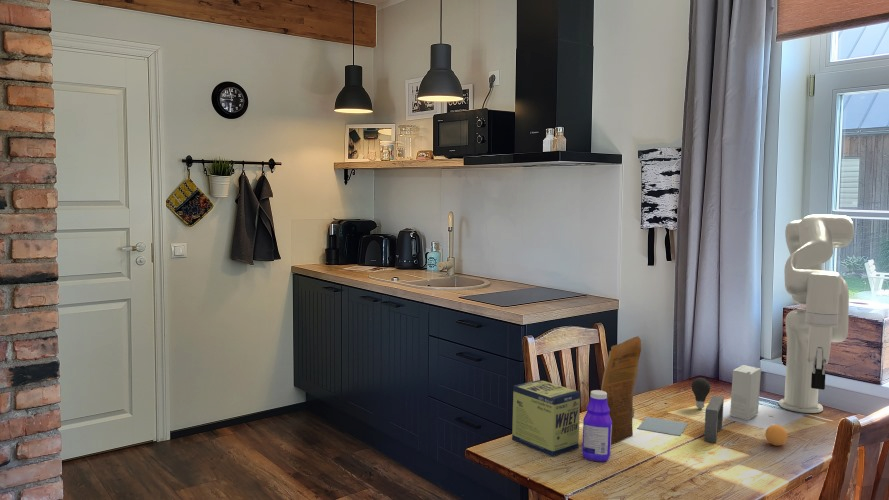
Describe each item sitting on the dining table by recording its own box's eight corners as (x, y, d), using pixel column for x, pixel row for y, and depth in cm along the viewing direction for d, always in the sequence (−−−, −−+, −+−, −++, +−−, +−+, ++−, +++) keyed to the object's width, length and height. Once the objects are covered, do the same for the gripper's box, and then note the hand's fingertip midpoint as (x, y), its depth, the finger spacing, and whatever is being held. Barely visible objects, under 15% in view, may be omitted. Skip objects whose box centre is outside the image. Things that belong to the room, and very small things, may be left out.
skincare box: (739, 410, 221) (741, 364, 220) (759, 414, 217) (761, 367, 216) (729, 416, 215) (731, 369, 214) (749, 421, 211) (751, 372, 210)
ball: (765, 440, 195) (766, 420, 195) (787, 443, 192) (788, 424, 192) (763, 446, 190) (764, 426, 190) (786, 450, 188) (787, 429, 187)
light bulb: (710, 412, 219) (712, 380, 218) (691, 411, 220) (693, 379, 219) (707, 406, 225) (709, 376, 224) (689, 405, 226) (690, 375, 225)
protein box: (553, 457, 181) (554, 398, 179) (511, 440, 193) (512, 384, 191) (580, 448, 187) (581, 391, 186) (537, 432, 199) (538, 378, 198)
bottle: (611, 456, 182) (614, 390, 180) (609, 464, 176) (611, 396, 175) (583, 452, 184) (585, 387, 183) (580, 460, 179) (582, 393, 177)
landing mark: (646, 417, 214) (646, 416, 214) (687, 423, 208) (687, 423, 208) (637, 428, 203) (637, 428, 203) (680, 436, 197) (680, 435, 197)
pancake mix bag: (646, 434, 199) (650, 336, 196) (607, 450, 186) (611, 346, 183) (625, 428, 204) (629, 332, 201) (586, 443, 191) (589, 342, 188)
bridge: (704, 441, 193) (705, 409, 192) (711, 426, 206) (712, 395, 205) (715, 443, 192) (717, 410, 191) (722, 428, 205) (723, 397, 204)
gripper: (806, 315, 193) (802, 380, 194) (804, 321, 180) (801, 392, 181) (837, 317, 190) (833, 384, 191) (838, 324, 177) (834, 396, 178)
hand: (817, 388), depth 186 cm, fingers closed
